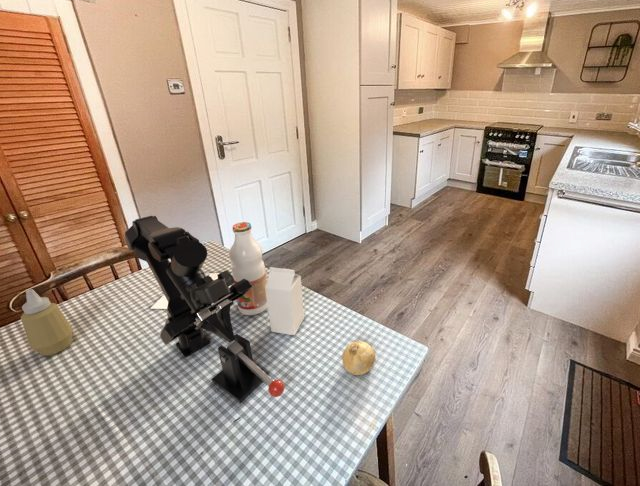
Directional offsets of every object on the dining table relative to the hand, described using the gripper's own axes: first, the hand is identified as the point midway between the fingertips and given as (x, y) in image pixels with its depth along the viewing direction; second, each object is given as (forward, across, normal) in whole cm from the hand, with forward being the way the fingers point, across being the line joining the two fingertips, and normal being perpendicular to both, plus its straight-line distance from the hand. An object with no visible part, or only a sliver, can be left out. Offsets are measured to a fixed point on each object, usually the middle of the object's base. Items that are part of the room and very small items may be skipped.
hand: (232, 341), depth 64 cm
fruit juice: (-4, +21, +24) cm, 32 cm away
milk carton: (+6, +20, +13) cm, 25 cm away
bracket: (+8, +1, +11) cm, 14 cm away
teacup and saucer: (-21, +16, +40) cm, 48 cm away
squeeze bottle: (-26, -18, +46) cm, 56 cm away
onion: (+24, +19, -4) cm, 31 cm away
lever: (+9, +1, +3) cm, 9 cm away
